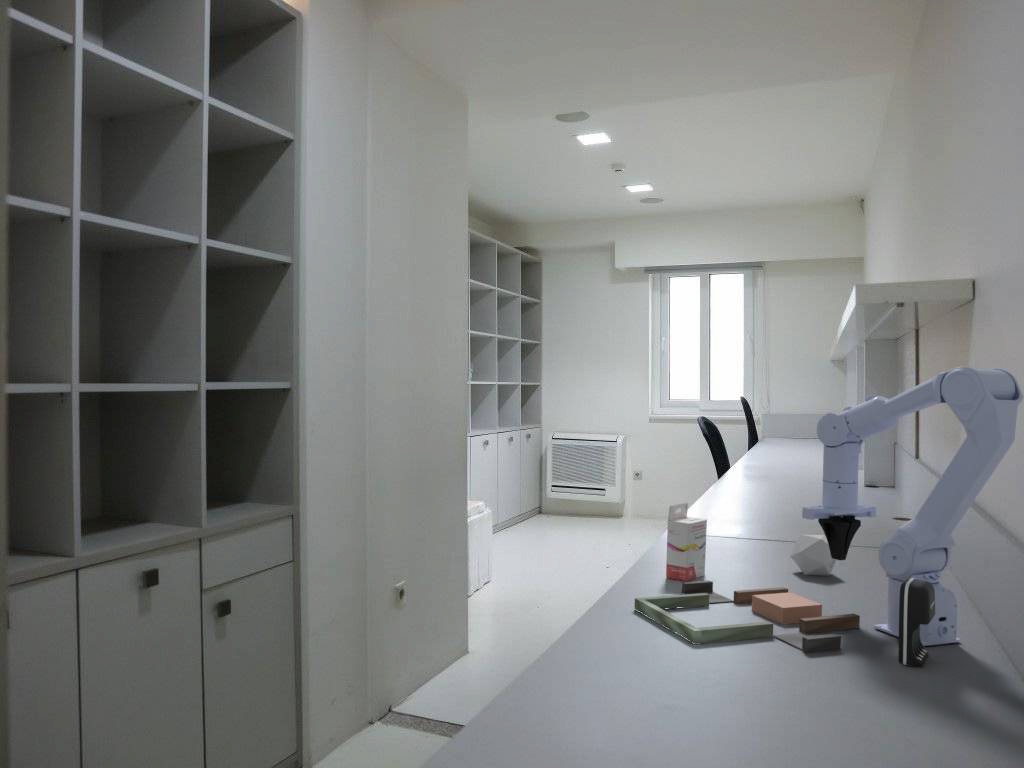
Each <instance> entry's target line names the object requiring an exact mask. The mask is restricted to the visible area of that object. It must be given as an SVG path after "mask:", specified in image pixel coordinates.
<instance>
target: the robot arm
mask: <svg viewBox="0 0 1024 768" xmlns="http://www.w3.org/2000/svg"><path fill="white" fill-rule="evenodd" d="M864 399H865V401H863V402H862V403H860V404H857V405H855V406H846V407H844V408H843V411H842V412H841V413H836V412H827V413H826V414H824V416H822V417H821V418H819V420H818V422H817V424H816V434H817V437H818V439H819V441H820V442H821V443H822V444H823V451H822V452H823V456H822V459H823V461H822V462H823V463H822V497H821V498H822V501H821V502H822V503H819V504H818V505H810V506H803V507H802V510H801V511H802V512H801V515H802V516H801V517H802V519H806V520H810V521H811V520H812V521H813V520H817V519H818V520H817V521H818V523H819V526H820V527H821V529H822V531H823V533H824V535H825V536H826V538H827V541H828V545H829V549H830V553H831V558H833V559H836V560H837V561H846V559H847V556H848V552H849V549H850V546H851V543H852V542H853V539H854V537H855V534H856V533H857V532H858V530H859V529H860V527H861V525H862V521H861V520H860V519H857V518H867V517H868V518H876V517H877V506H876V505H870V504H869V505H868V504H858V503H859V502H858V500H859V499H858V497H859V459H860V458H859V456H860V453H862V451H861V450H862V445H863V444H864V442H865V441H866V439H869V438H871V437H874V436H876V435H879V434H881V433H884V432H887V431H890V430H891V429H894V428H895V427H897V426H898V423H899V420H900V418H901V417H904V416H908V415H910V414H913V413H916V412H918V411H921V410H924V409H927V408H931V407H933V406H936V405H939V404H946V405H947V406H948V407H949V408H950V410H951V411H952V413H953V414H954V415H955V416H956V418H957V420H958V421H959V422H960V423H961V424H962V426H963V428H964V431H965V434H966V438H965V439H964V440H963V442H962V443H961V445H960V447H959V448H958V450H957V452H956V453H955V455H954V456H953V457H952V459H951V461H950V463H948V465H947V467H946V468H945V470H944V472H943V473H942V475H941V476H940V478H939V479H938V481H937V483H936V484H935V485H934V487H933V489H932V490H931V492H930V493H929V495H928V497H927V498H926V499H925V501H924V502H923V504H922V505H921V507H920V509H918V510H919V511H918V512H917V513H916V514H915V516H914V518H912V519H910V520H908V522H906V523H905V524H903V525H902V526H900V527H898V529H897V530H896V531H895V533H894V534H893V535H892V536H891V537H889V538H886V539H884V540H883V541H882V542H881V544H880V545H879V548H878V560H879V564H880V566H881V568H882V569H883V570H884V572H885V577H886V578H887V613H886V614H887V618H886V622H887V623H880V624H874V627H873V628H874V629H877V630H879V631H883V632H884V633H887V634H889V635H892V636H895V637H898V638H899V598H900V587H901V584H902V583H903V582H904V581H905V580H906V579H908V578H910V579H911V578H914V579H917V580H923V581H928V582H930V583H931V584H932V585H933V587H934V590H935V615H934V617H933V619H932V620H931V622H930V623H929V624H928V625H923V624H920V639H921V643H922V645H923V647H926V646H927V647H928V646H936V645H945V644H951V643H952V644H954V643H960V642H961V638H959V637H957V634H958V633H957V631H958V630H957V628H958V627H957V625H958V623H957V622H958V619H957V618H958V602H957V601H958V600H957V597H956V595H955V593H954V592H953V591H952V590H951V589H949V588H948V587H945V586H944V585H942V583H941V582H940V580H941V579H942V572H943V571H945V570H946V569H947V567H948V566H949V564H950V561H951V560H950V559H951V558H950V557H951V552H952V549H953V547H955V545H956V541H955V539H954V537H953V536H952V534H953V532H954V530H955V529H956V528H957V527H958V525H959V523H960V522H961V520H962V519H963V517H964V516H965V514H966V513H967V512H968V510H969V508H970V507H971V505H972V504H973V503H974V501H975V499H976V498H977V496H978V495H979V494H980V492H981V491H982V489H983V488H984V486H985V485H986V483H987V482H988V481H989V479H990V478H991V476H992V475H993V474H994V472H995V470H996V469H997V467H998V466H999V465H1000V463H1001V461H1002V460H1003V459H1004V457H1005V456H1006V454H1007V453H1008V452H1009V450H1010V448H1011V447H1012V446H1013V443H1014V442H1015V437H1016V428H1017V417H1018V416H1017V414H1018V408H1019V405H1020V404H1021V403H1022V401H1023V399H1024V395H1023V391H1022V390H1021V388H1020V384H1019V383H1018V380H1017V378H1016V377H1015V376H1014V375H1013V373H1011V372H1009V371H1008V370H1006V369H1004V368H1003V369H1002V368H991V369H989V368H973V367H970V366H958V367H954V368H952V369H950V370H949V371H944V372H941V373H940V372H939V373H938V374H936V375H935V376H934V377H931V378H930V379H928V380H926V381H924V382H922V383H919V384H918V385H916V386H913V387H911V388H909V389H908V390H905V391H904V392H902V393H899V394H897V395H895V396H893V397H891V398H887V397H885V396H881V395H878V396H877V395H869V396H866V397H865V398H864Z"/></svg>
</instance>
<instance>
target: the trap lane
mask: <svg viewBox="0 0 1024 768" xmlns="http://www.w3.org/2000/svg"><path fill="white" fill-rule="evenodd" d="M788 592H789V588H787V587H784V586H783V587H768V588H756V589H740V590H733V599H730V598H728V597H726V596H723V595H722V594H719V593H716V592H715V591H714V581H711V580H698V581H687V582H686V581H682V582H681V594H674V595H673V594H672V595H671V594H670V595H660V596H648V597H635V598H634V609H636V610H638V611H640V612H642V613H643V614H645V615H647V616H648V617H650V618H652V619H654V620H655V621H657V622H659V623H660V624H662V625H664V626H665V627H667V628H669V629H670V630H672V631H674V632H677V633H678V634H680V635H682V636H683V637H685V638H687V639H688V640H690V641H691V642H693V643H704V644H711V643H710V642H714V643H722V642H723V641H724V642H732V641H733V642H734V641H742V640H744V641H745V640H753V639H762V638H763V639H764V638H775V639H777V640H779V641H782V642H784V643H785V644H788V645H789V646H792V647H794V648H796V649H798V650H800V651H803V652H804V653H806V654H813V653H820V652H821V653H822V652H830V651H831V652H832V651H840V650H841V647H842V635H839V634H837V633H828V634H819V635H818V634H817V635H811V634H813V633H822V632H823V633H824V632H832V631H841V630H854V629H860V625H861V624H860V622H861V620H860V618H861V616H860V615H858V614H856V613H845V614H835V615H825V616H823V615H822V617H812V618H801V619H800V621H799V624H798V625H799V627H798V628H799V632H795V633H782V634H774V623H772V622H770V621H759V622H747V623H738V624H737V623H736V624H728V625H726V624H725V625H724V624H723V625H715V626H705V627H704V626H703V627H696V626H695V625H692V624H691V623H688V622H687V621H684V620H683V619H681V618H680V617H678V616H676V615H674V614H672V613H671V612H668V611H666V610H663V609H665V608H677V607H691V608H701V607H700V606H703V607H709V606H710V605H713V604H726V603H734V604H738V605H739V604H750V603H751V604H752V595H762V594H775V593H788ZM683 593H684V594H683ZM698 606H699V607H698ZM636 610H635V611H636ZM643 614H642V615H643ZM648 617H647V618H648ZM655 621H654V622H655ZM660 624H659V625H660ZM662 625H661V626H662ZM665 627H664V628H665ZM667 628H666V629H667ZM670 630H669V631H670ZM672 631H671V632H672ZM674 632H673V633H674ZM691 642H690V643H691ZM693 643H692V644H693Z"/></svg>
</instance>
